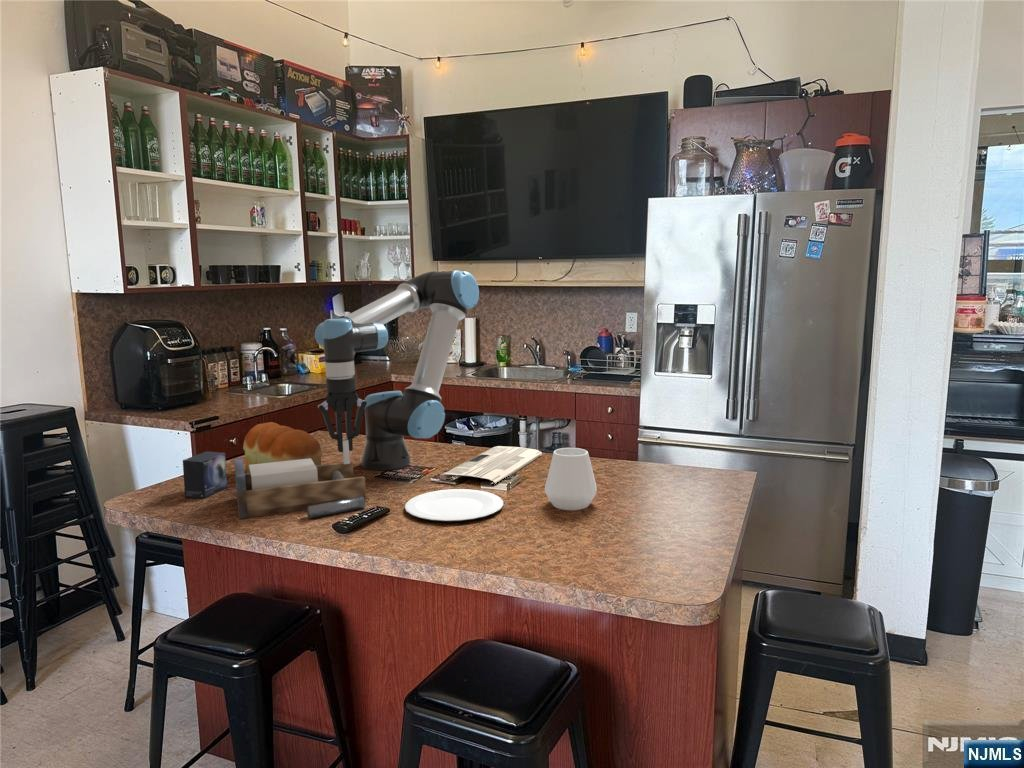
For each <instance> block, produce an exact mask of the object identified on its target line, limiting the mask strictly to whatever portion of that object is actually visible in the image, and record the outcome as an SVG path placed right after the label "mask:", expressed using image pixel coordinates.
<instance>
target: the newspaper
mask: <svg viewBox="0 0 1024 768" xmlns="http://www.w3.org/2000/svg"><path fill="white" fill-rule="evenodd" d="M542 455H543V452H542V451H540V450H539V449H535V448H527V447H521V446H520V447H519V446H502V445H497V446H493V447H491V448H489V449H488V450H486V451H484V452H481V453H480V454H478V455H476V456H474V457H472V458H470V459H468V460H467V461H465V462H462V463H461V464H459V465H457V466H455V467H454V468H451V469H450V470H447V471H446V472H444V473H441V474H440V476H439V479H440V480H441V481H443V480H444V481H447V480H446V479H450V477H452V476H456V475H460V476H462V477H472V478H473V477H474V478H480V479H486V480H489V481H490V482H492V481H493V483H495V484H496V483H497V482H499V481H500V480H502V479H504V478H505V479H507V478H508V476H509V477H511V476H512V475H513V474H515V473H516V472H518V471H520V470H521V469H522V468H524V467H526V466H527V465H528V464H531V463H532V462H533V461H535V460H536V459H538V458H539V457H541V456H542ZM506 477H507V478H506ZM505 479H504V480H505ZM502 481H503V480H502ZM499 483H500V482H499ZM495 484H494V485H495ZM496 485H497V484H496Z"/></svg>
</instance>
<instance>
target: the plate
mask: <svg viewBox="0 0 1024 768" xmlns="http://www.w3.org/2000/svg"><path fill="white" fill-rule="evenodd" d="M503 507H504V500H503V499H502V497H500V496H498V495H496V494H494V493H493V492H488V491H485V490H477V489H468V488H467V489H466V488H455V489H454V488H453V489H451V488H450V489H441V490H434V491H429V492H425V493H422V494H418V495H416V496H414V497H412V498H410V499H409V500H408V501H407V502H405V505H404V509H405V511H406V513H407V514H409V515H411V516H412V517H415V518H418V519H420V520H424V521H425V520H426V521H431V522H444V523H446V522H447V523H449V522H450V523H452V522H453V523H454V522H455V523H457V522H465V521H466V522H467V521H473V520H477V519H483V518H486V517H489V516H492V515H494V514H496V513H497V512H499V511H500V510H501V509H502V508H503Z"/></svg>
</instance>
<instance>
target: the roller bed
mask: <svg viewBox="0 0 1024 768" xmlns="http://www.w3.org/2000/svg"><path fill="white" fill-rule="evenodd" d="M233 461H234V473H235V474H234V475H235V489H236V500H237V509H238V518H239V519H247V518H253V517H260V516H261V517H262V516H267V515H268V516H269V515H276V514H283V513H289V512H298V511H307V506H312V505H318V504H323V503H328V502H334V501H339V500H344V499H350V498H355V497H360V496H363V497H364V499H365V503H366V502H367V498H366V478H365V476H357V477H356V476H354V464H353V461H350V464H344V463H343V462H335V463H329V464H321V465H317V466H316V468H317V474H318V482H313V483H305V484H296V485H288V486H280V487H271V488H263V489H255V490H252V489H251V484H250V474H249V473H247V472H246V471H245V467H244V461H243V459H241V458H240V459H234V460H233ZM245 472H246V473H245Z"/></svg>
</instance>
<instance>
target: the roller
mask: <svg viewBox="0 0 1024 768" xmlns="http://www.w3.org/2000/svg"><path fill="white" fill-rule="evenodd" d="M364 508H366V502H365V499H364V497H363V496H360V497H355V498H350V499H344V500H339V501H334V502H328V503H323V504H318V505H312V506H307V509H306V515H307V518H308V519H314V518H320V517H324V516H330V515H335V514H338V513H339V514H340V513H344V512H349V511H356V510H361V509H364Z"/></svg>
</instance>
